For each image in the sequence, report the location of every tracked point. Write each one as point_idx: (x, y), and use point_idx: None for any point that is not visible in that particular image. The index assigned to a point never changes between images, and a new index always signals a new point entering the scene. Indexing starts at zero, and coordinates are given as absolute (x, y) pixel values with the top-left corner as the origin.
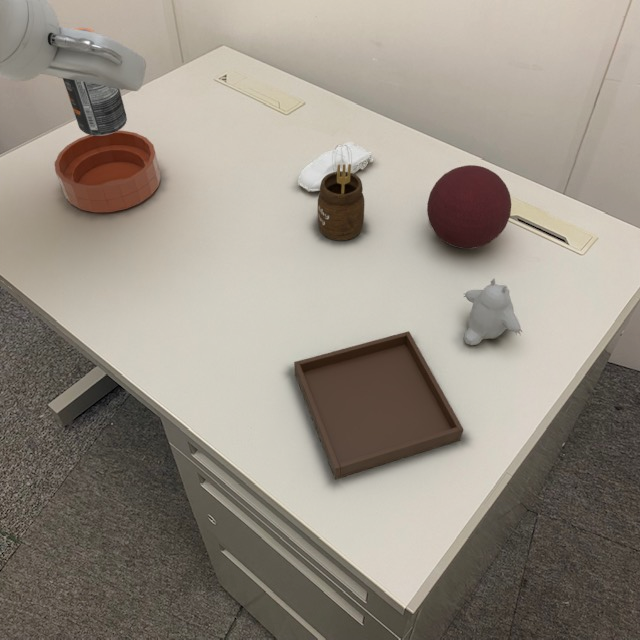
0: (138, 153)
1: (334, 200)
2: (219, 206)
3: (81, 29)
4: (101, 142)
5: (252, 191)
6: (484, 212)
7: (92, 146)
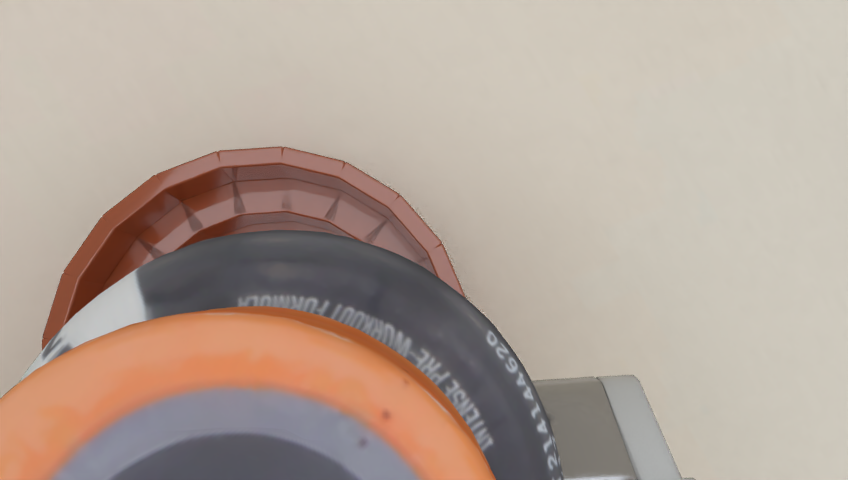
0: (322, 213)
1: None
2: (696, 315)
3: (139, 397)
4: (148, 220)
5: (755, 201)
6: None
7: (121, 251)
